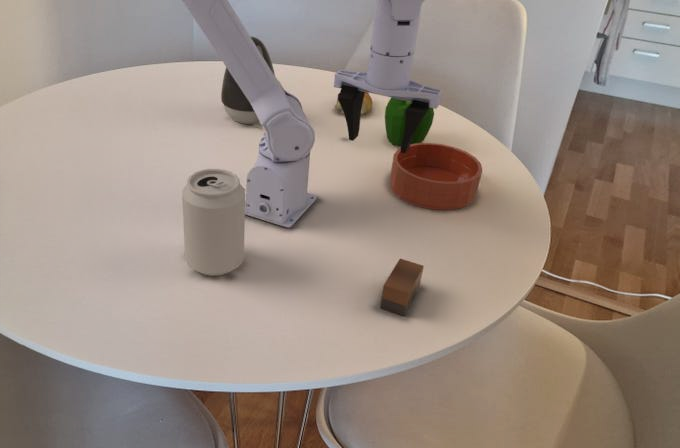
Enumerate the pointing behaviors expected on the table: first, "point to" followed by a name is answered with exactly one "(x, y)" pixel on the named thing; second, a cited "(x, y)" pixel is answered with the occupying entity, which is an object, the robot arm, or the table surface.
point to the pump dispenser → (241, 93)
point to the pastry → (365, 106)
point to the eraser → (401, 287)
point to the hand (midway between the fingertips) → (378, 143)
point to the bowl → (435, 176)
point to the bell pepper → (397, 122)
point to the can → (213, 221)
